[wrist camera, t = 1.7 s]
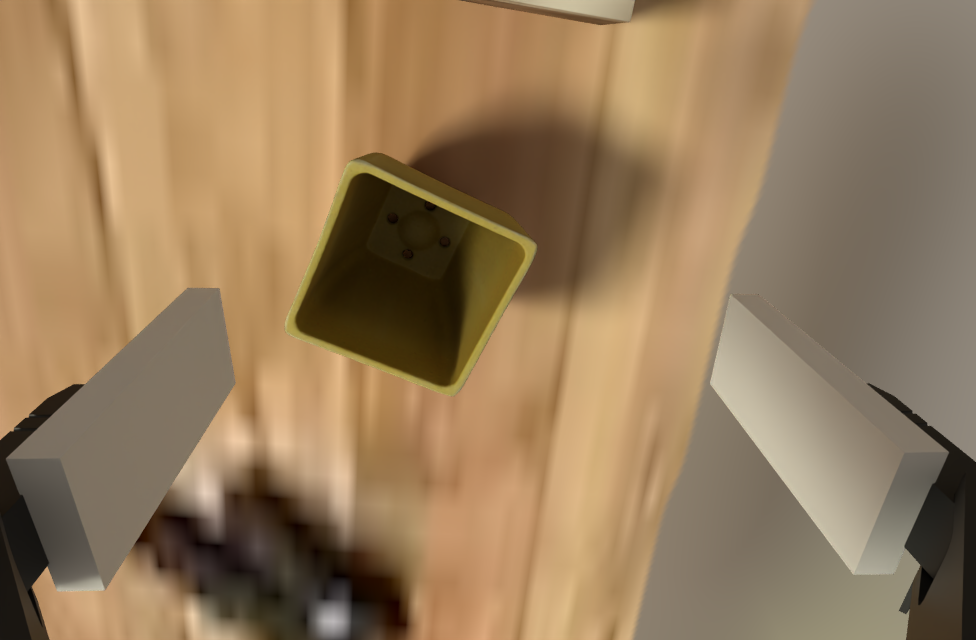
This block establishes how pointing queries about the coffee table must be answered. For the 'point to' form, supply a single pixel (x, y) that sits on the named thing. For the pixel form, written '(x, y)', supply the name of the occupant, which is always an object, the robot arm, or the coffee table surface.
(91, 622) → the coffee table surface
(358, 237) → the flower pot
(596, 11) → the display stand
